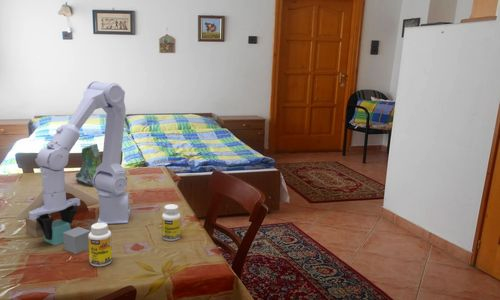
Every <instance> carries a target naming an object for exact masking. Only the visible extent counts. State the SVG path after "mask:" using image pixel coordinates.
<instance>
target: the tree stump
mask: <svg viewBox="0 0 500 300" xmlns="http://www.w3.org/2000/svg"><path fill="white" fill-rule="evenodd" d="M101 155H102V153H100V149H99V148H98V144H97V143H95V144H92V145H88V146H84V147H83V148H82V149H81V159H82V162H81V163H82V165H81V166H80V169H79V171H78V172H76V174H75V178H76V179H78V181H80V182H81V183H83V184H85V185H86V186H87V187H88V186H89V187H93V188H94V186H93V177H94V175H95V173H96V168H97V167H98V166H99V165H100V164H101V163H102V159H101ZM127 179H128V178H127V176H126V180H127ZM127 181H128V180H127Z"/></svg>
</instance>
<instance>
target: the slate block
mask: <svg viewBox="0 0 500 300" xmlns="http://www.w3.org/2000/svg"><path fill="white" fill-rule="evenodd" d="M90 232H91V230H89V229H86V228H83V227H80V226H77V227H74V228H70V230H68V231H66V232H63V250H65V251H67V252H69V251H70V253H72V254H74V255H77V254H80V253H81V252H83V251H86V250H89V240H88V235H89V233H90Z"/></svg>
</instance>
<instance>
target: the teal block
mask: <svg viewBox="0 0 500 300" xmlns="http://www.w3.org/2000/svg"><path fill="white" fill-rule="evenodd" d="M68 230H71V227H70V223H68V222H66V221H63V220H62V219H55V220H53V222H52V239H51V240H48V239H45V235H43V238H44V239H43V240H44V242H46V243H48V244H51V245H53V246H58V245H61V244H62V243H63V244H64V242H63V232H66V231H68Z"/></svg>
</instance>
